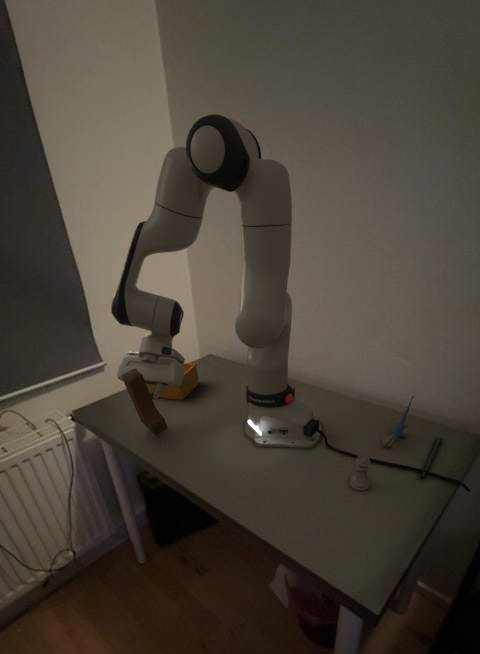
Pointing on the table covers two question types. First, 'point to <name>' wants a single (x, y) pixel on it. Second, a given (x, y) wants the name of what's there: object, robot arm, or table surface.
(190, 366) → the bin
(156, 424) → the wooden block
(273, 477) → the table surface
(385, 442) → the dinosaur figurine
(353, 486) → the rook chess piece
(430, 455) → the rod
